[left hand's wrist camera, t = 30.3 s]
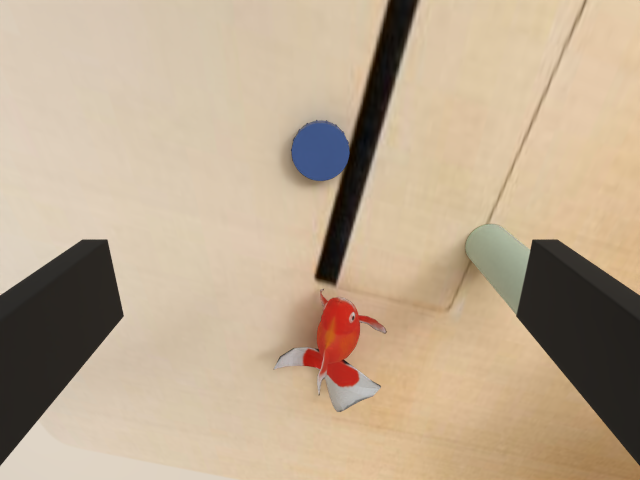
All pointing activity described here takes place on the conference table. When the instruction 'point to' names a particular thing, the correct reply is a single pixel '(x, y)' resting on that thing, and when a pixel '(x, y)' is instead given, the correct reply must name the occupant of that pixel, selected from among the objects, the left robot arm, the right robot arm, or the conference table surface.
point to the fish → (336, 353)
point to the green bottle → (499, 260)
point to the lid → (320, 150)
